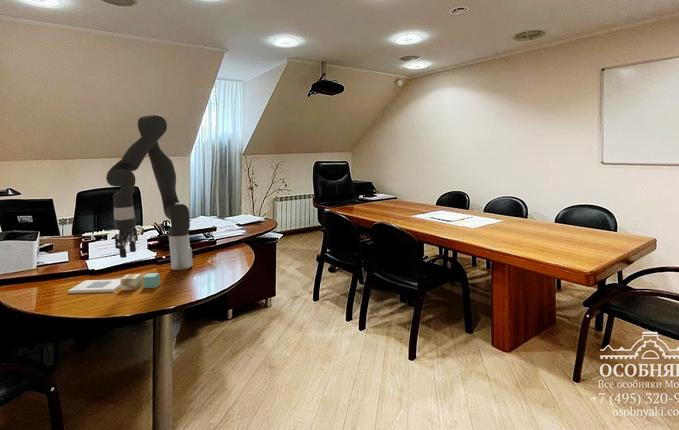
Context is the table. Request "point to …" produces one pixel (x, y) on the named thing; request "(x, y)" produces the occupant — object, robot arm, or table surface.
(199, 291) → the table surface
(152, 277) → the teal cube
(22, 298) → the table surface
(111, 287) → the board
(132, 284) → the birch block
